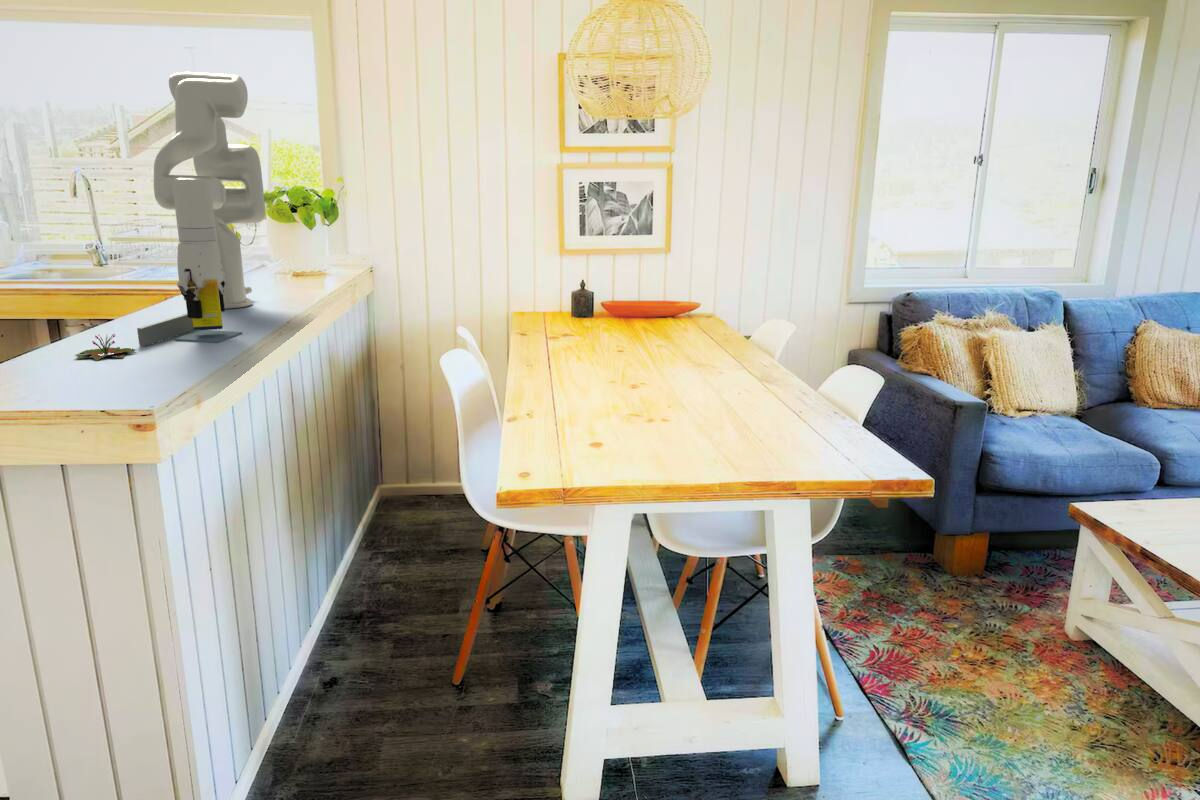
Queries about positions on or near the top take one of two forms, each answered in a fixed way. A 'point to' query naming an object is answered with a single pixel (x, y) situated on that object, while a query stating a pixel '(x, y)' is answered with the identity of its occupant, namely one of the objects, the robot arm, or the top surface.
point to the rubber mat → (208, 336)
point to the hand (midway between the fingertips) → (206, 314)
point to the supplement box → (209, 307)
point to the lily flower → (104, 350)
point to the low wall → (164, 329)
